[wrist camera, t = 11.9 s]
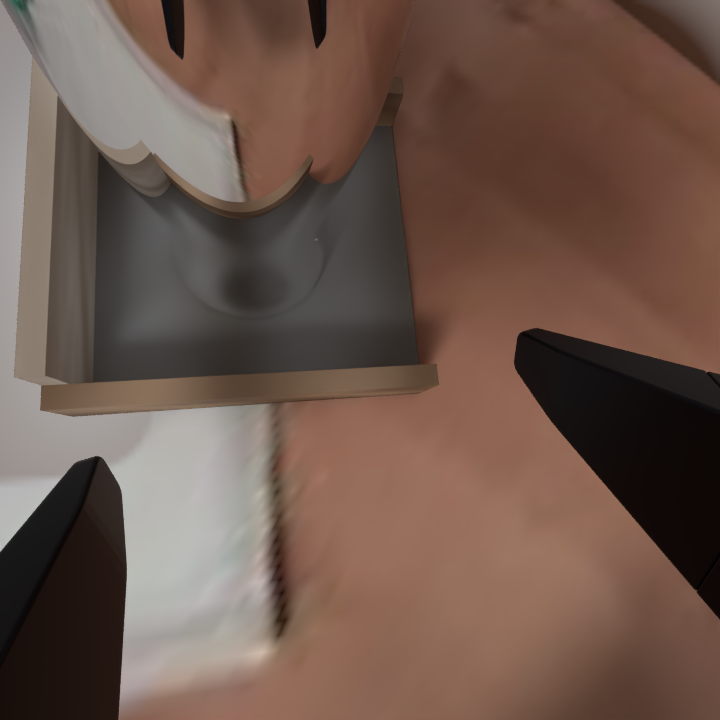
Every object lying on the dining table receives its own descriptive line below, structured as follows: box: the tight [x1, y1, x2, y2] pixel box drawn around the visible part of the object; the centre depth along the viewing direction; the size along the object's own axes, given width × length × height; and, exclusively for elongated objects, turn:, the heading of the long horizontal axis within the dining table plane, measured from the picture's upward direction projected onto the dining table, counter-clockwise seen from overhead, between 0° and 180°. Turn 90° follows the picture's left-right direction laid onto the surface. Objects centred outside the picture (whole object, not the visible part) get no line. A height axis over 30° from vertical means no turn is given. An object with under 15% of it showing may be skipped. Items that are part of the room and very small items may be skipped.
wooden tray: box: [14, 56, 439, 417], centre depth 17 cm, size 13×13×4 cm
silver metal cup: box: [1, 0, 416, 318], centre depth 12 cm, size 7×7×15 cm
